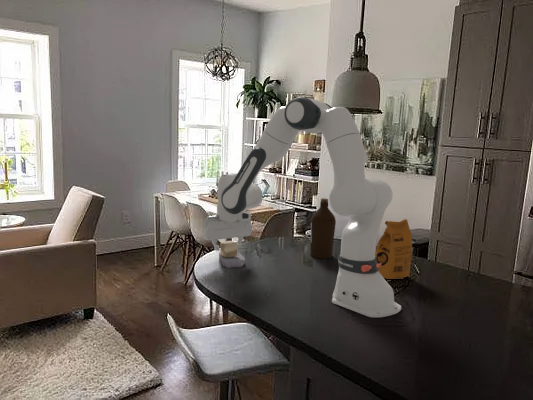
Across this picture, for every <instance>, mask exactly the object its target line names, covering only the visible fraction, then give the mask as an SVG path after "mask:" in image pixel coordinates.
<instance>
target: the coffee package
mask: <svg viewBox="0 0 533 400" xmlns="http://www.w3.org/2000/svg"><path fill="white" fill-rule="evenodd" d="M384 225H386V228H385V230H384V231H383V234H382V235H381V236H380V238H379V240H378V241H377V243H376V253H375V257H376V259H377V263H378V264H379V263H382V264H381V265H379V266H381V267H378V268H379V272H380V274H381V275H382V276H383V278H387V279H398V278H403V277H405V276H409V277H410V273H411V263H412V255H413V251H412V250H413V236H412V232H411V229H410V225H409V222H408V219H407V218H404V219H402V220H401V221H393V220H389V221H388V220H385V222H384Z"/></svg>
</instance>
